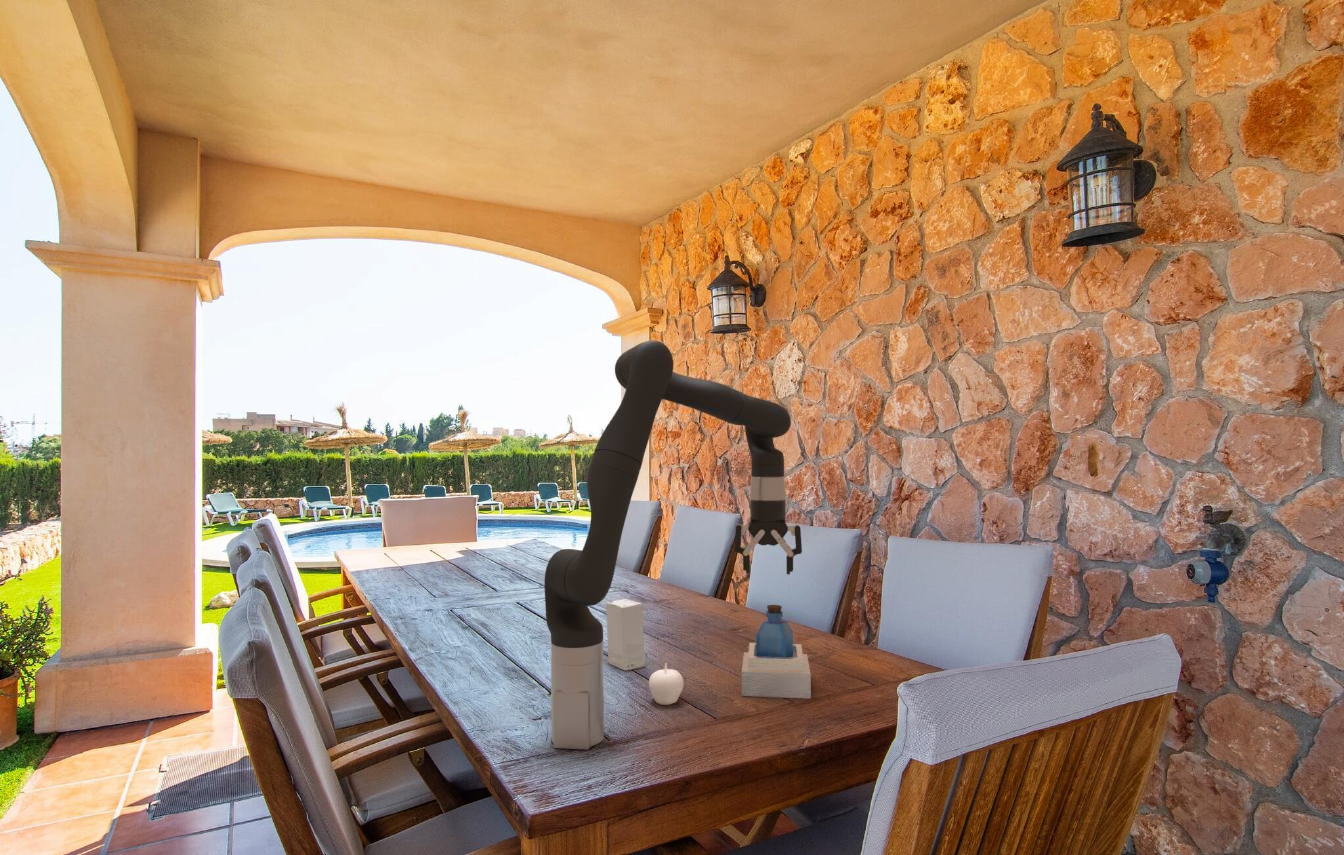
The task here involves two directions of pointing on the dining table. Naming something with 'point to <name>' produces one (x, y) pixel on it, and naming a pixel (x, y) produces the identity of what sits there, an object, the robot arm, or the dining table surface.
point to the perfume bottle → (774, 635)
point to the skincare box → (625, 634)
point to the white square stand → (776, 675)
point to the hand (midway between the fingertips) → (768, 573)
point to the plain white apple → (666, 685)
